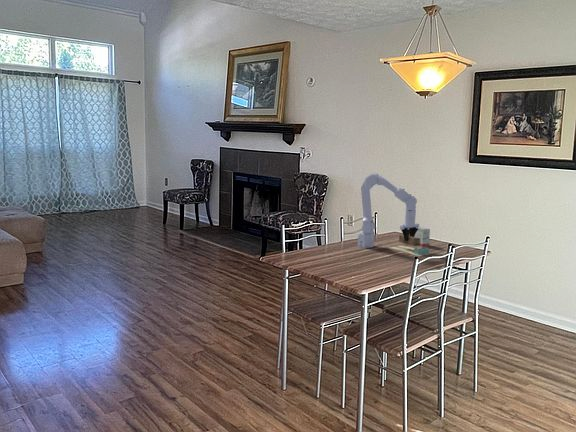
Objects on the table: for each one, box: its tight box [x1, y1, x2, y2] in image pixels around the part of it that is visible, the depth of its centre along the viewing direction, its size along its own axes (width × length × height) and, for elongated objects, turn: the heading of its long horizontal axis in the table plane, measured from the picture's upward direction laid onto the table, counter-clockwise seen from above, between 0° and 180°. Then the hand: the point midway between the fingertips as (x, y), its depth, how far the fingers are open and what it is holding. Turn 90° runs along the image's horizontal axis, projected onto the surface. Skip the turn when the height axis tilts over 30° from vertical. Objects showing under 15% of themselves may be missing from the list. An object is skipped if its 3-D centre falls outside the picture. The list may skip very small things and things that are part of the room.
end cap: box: [413, 247, 430, 256], centre depth 284 cm, size 8×4×3 cm, turn 126°
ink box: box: [414, 226, 431, 248], centre depth 305 cm, size 9×5×12 cm, turn 22°
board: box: [388, 244, 433, 257], centre depth 291 cm, size 13×23×1 cm, turn 36°
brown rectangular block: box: [398, 234, 420, 247], centre depth 291 cm, size 12×4×4 cm, turn 36°
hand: (408, 240), depth 291 cm, fingers closed on brown rectangular block, 4 cm apart
